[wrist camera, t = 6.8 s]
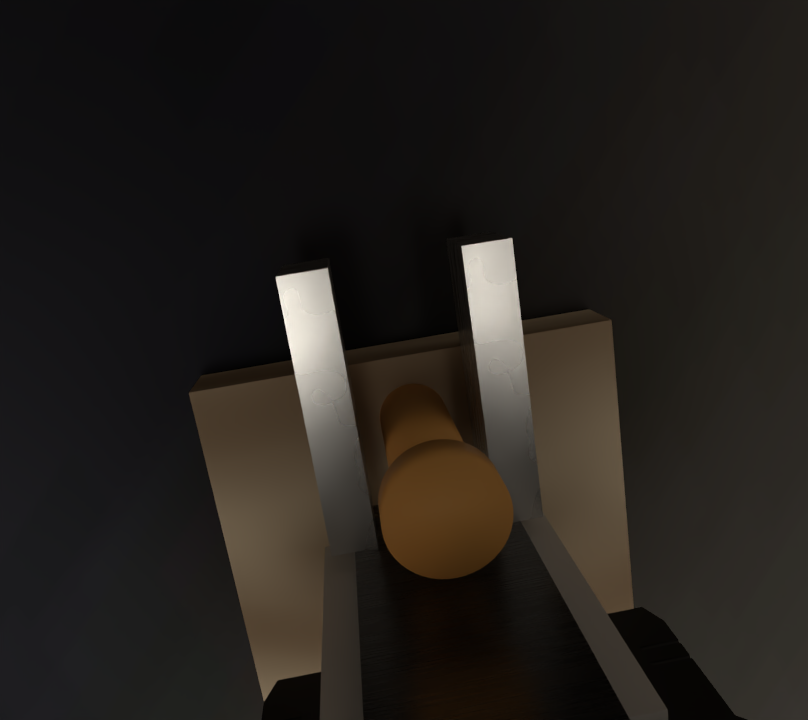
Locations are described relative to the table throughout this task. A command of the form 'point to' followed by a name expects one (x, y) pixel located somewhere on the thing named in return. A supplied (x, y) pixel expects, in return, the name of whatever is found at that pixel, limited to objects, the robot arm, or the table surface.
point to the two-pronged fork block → (464, 596)
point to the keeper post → (438, 490)
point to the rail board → (371, 383)
